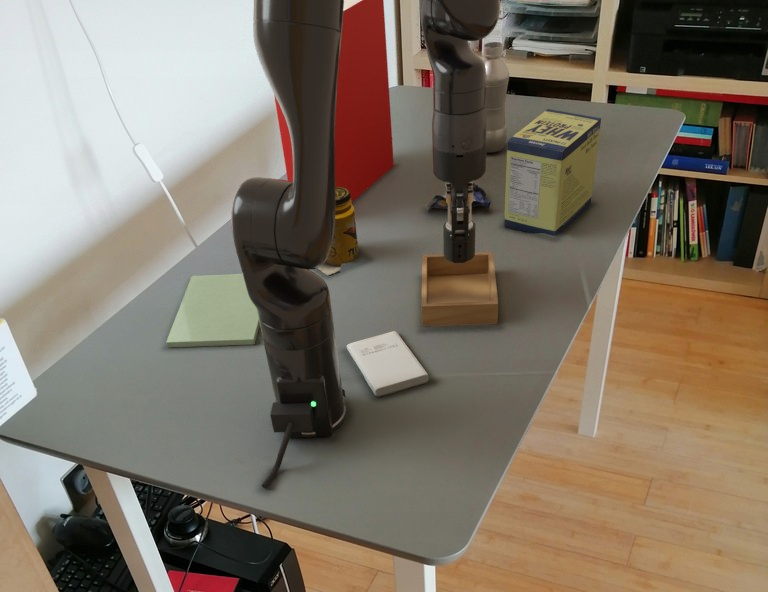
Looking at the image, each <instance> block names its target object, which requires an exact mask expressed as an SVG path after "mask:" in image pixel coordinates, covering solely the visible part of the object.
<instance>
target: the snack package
mask: <svg viewBox="0 0 768 592" xmlns="http://www.w3.org/2000/svg"><path fill="white" fill-rule="evenodd" d="M472 182H473V202H472V204H471V208H476V207H479V206H480V207H484V208H488V209H489V208H490V206H491V204H492V201H491V199H489V197H488V196H487V193H486V192H485V190H484V189H483V188H482V187H479V185H478V184H475V182H474V181H472ZM424 208H425V209H426V211H427V212H429V211H430V210H431V209H443V210H444V209H445V210H448V204H447V203H446V194H444V195H439V194H436V195H434V196H433V198H431V200H430V202H428V203H427V204H426V205H424ZM486 212H487V213H488V210H486Z"/></svg>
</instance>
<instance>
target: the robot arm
mask: <svg viewBox="0 0 768 592" xmlns="http://www.w3.org/2000/svg"><path fill="white" fill-rule="evenodd" d="M343 8H344V0H253V24H252V34H253V43H254V48H255V52H256V55H257V58H258V61H259V64H260V65H261V69H262V71H263V73H264V75H265V78H266V80H267V82H268V83H269V84H268V85H269V86H270V89H271V91H272V93H273V96H274V95H275V97H276V99H277V101H278V103H279V105H280V108H281V110H282V112H283V115H284V117H285V120H286V123H287V126H288V130H289V134H290V138H291V145H292V156H293V181H288V179H287V180H286V179H278V178H272V177H271V178H270V177H263V176H262V177H260V176H255V177H250V178H247V179H245V180H244V181H243V182H241V184H239V186H238V188H237V189H236V191H235V193H234V197H233V199H232V203H231V212H230V221H231V232H232V233H231V234H232V238H233V243H234V247H235V252H236V255H237V258H238V263H239V265H240V269H241V274H243V277H244V280H245V284H246V288H247V292H248V295H249V297H250V299H251V301H252V303H253V304H254V305H255V307H256V309H257V313H258V317H259V322H260V326H259V328H260V331H261V336H262V341H263V346H264V351H265V356H266V360H267V365H268V370H269V375H270V380H271V384H272V389H273V395H274V399H275V402H272V405H271V409H270V414H269V415H270V421H271V425H272V430H273V433H284V435H283V438H282V441H281V444H280V447H279V450H278V452H277V456H276V459H275V462H274V465H273V467H272V469H271V471H270V472H269V474H268V476H267V477H266V478H265V479H264V481H263V482H262V483H261V487H262V488H263V489H267V488H268V487H269V486H270V484H271V483H272V482H273V480H274V479H275V478H276V476H277V474H278V472H279V470H280V468H281V466H282V463H283V459H284V456H285V454H286V450H287V447H288V444H289V441H290V439H292V438H323V437H325V438H326V437H332V436H333V432H334V431H336V430H337V428H339V427H340V426H341V425H342V424H343V422H344V421H345V419H346V415H347V408H346V403H345V399H344V398H347V396H346V390H345V389H344V388H343V385H342V377H341V370H340V362H339V354H338V347H337V341H336V332H335V326H334V325H335V323H334V316H333V307H332V300H331V295H330V289H329V286H328V284H327V282H326V281H325V280H324V279H323V278H322V277H321V276H320V275H319V274H317V273H315V272H314V271H313V270H316V269H318V268H319V267H320V266H321V265H322V264H323V263H324V262H325V261H326V259H327V257H328V255H329V252H330V249H331V246H332V242H333V236H334V227H335V116H336V98H337V82H338V68H339V57H340V47H341V37H342V23H343ZM500 14H501V0H419V21H420V26H421V27H420V28H421V32H422V35H423V41H424V45H425V49H426V53H427V59H428V61H429V64H430V68H431V71H432V101H433V103H432V105H433V107H432V108H433V110H432V111H433V112H432V120H431V137H432V139H431V141H432V142H431V143H432V144H431V145H432V172H433V175H434V177H435V179H438V180H439V181H441V182H443V183H444V182H445V195H446V203H447V204H448V209H447V221H448V223H449V224H450V225H451V235H450V238H451V240H452V261H453V263H465V262H466V261H467V242H468V239H469V234H468V227H469V223H471V220H472V207H471V204H472V202H473V182H474V181H477V180H479V179H481V178H482V177H483V176H484V175H485V173H486V170H487V152H486V143H487V117H486V105H485V103H486V68H485V64H484V62H483V60H484V59H482V57H480V56H479V55H478V54H476V52H474V51H473V49H472V48H471V46H470V43H469V42H476V41H481V40H483V39H485V38H486V37H488V36H489V35H490V34H491V33H492V32H493V31H494V29H495V28H496V26H497V24H498V21H499V18H500ZM275 97H274V98H275ZM457 230H464V231H465V232H455V231H457ZM311 270H312V271H311Z"/></svg>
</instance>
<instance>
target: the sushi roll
mask: <svg viewBox="0 0 768 592" xmlns="http://www.w3.org/2000/svg"><path fill="white" fill-rule="evenodd" d="M442 230H443V235H442V236H443V237H442V238H443V254H444V257H445V259H447V260H448V261H451V262H453V261H452V240H451V238H450V235H451V225H450V224H449V223H448V220H447V221H445V222H444V223H443V228H442ZM455 232H465V231H464V230H457V231H455ZM468 234H469V239H468V242H467V261H469V260H471V259H473V258H474V256H475V253H476V223H475V221H473V220H472V219H471V223H469V227H468Z"/></svg>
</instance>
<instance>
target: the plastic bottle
mask: <svg viewBox="0 0 768 592" xmlns="http://www.w3.org/2000/svg"><path fill="white" fill-rule="evenodd" d="M503 56H504V44H503V43H502V42H499V41H490V42H487V43H484V44H483V52H482V57H483V59H482V60H483V62H484V64H485V68H486V103H485V105H486V117H487V143H486V153H496V152H500V151H501V150H503V149H504V147H505V146H506V144H507V139H508V135H507V133H508V132H507V126H506V101H507V92H508V87H509V81H510V70H509V67H508V65H507V63H506V62H505V60H504V59H503Z"/></svg>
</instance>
